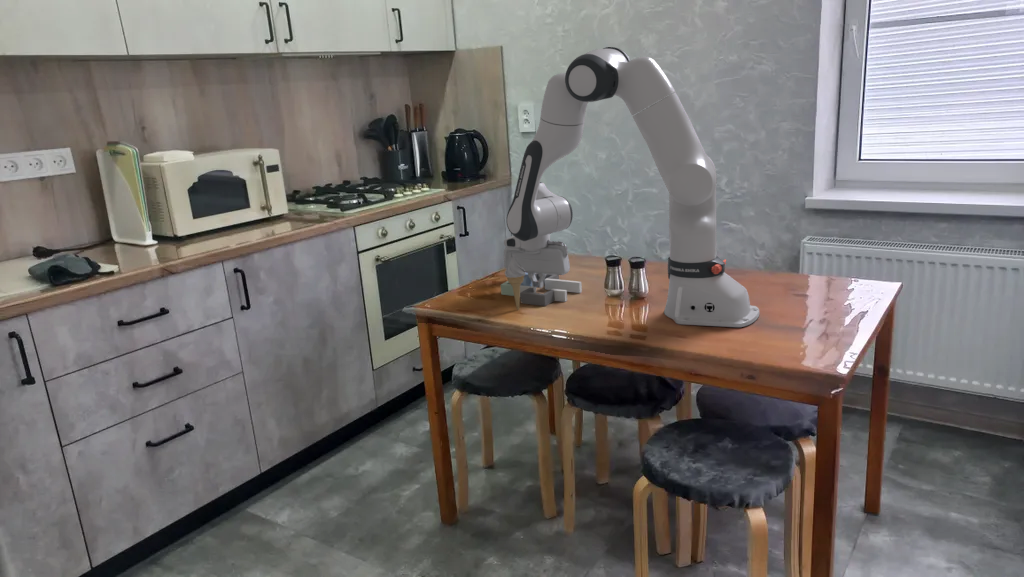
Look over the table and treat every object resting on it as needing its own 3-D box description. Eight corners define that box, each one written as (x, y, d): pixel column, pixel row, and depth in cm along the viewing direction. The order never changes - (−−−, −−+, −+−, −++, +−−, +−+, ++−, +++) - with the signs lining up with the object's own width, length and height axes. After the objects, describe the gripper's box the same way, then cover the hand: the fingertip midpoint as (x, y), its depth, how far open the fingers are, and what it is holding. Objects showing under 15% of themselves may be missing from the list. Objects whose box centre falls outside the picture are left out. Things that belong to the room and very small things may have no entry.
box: (590, 286, 203) (589, 276, 202) (556, 307, 187) (555, 296, 187) (528, 280, 214) (527, 271, 214) (491, 299, 199) (490, 289, 198)
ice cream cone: (504, 312, 187) (499, 258, 183) (512, 305, 192) (507, 252, 188) (524, 313, 185) (520, 258, 181) (531, 306, 190) (527, 252, 186)
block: (536, 289, 204) (534, 273, 203) (527, 294, 201) (525, 277, 199) (522, 288, 207) (520, 271, 206) (512, 293, 203) (510, 276, 202)
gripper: (572, 239, 194) (575, 287, 198) (511, 235, 205) (514, 280, 209) (561, 244, 189) (564, 293, 193) (498, 240, 200) (502, 286, 204)
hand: (538, 286), depth 201 cm, fingers closed
